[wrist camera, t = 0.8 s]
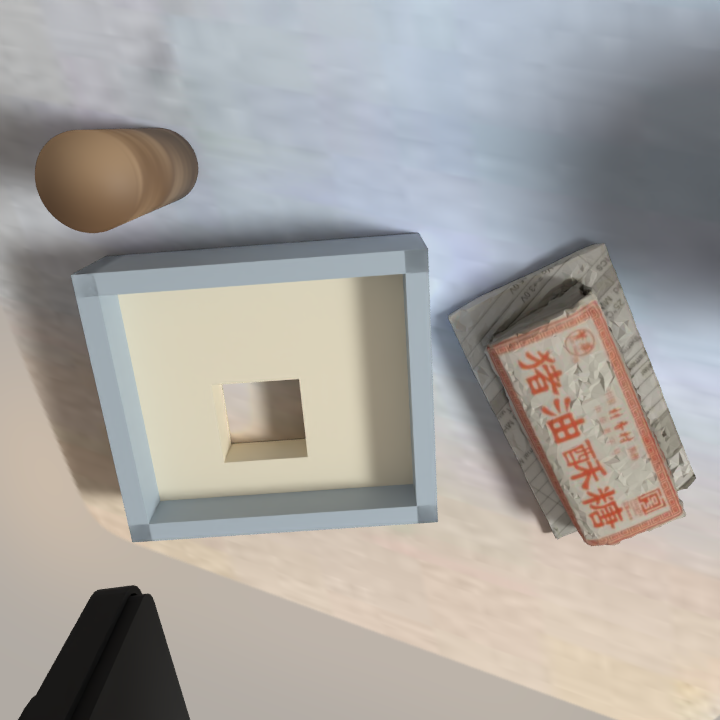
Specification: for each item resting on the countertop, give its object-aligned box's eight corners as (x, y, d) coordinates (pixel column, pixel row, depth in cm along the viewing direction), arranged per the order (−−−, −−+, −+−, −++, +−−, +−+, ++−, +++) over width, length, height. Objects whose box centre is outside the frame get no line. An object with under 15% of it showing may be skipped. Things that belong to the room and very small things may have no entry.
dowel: (119, 130, 36) (23, 134, 25) (192, 125, 35) (125, 126, 25) (133, 204, 37) (48, 236, 27) (203, 199, 37) (144, 229, 26)
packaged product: (727, 513, 39) (573, 575, 41) (688, 472, 44) (551, 530, 45) (628, 251, 34) (454, 335, 35) (595, 236, 38) (443, 311, 40)
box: (105, 256, 38) (70, 275, 33) (418, 232, 38) (427, 248, 33) (156, 497, 44) (132, 542, 39) (428, 478, 43) (437, 522, 39)
